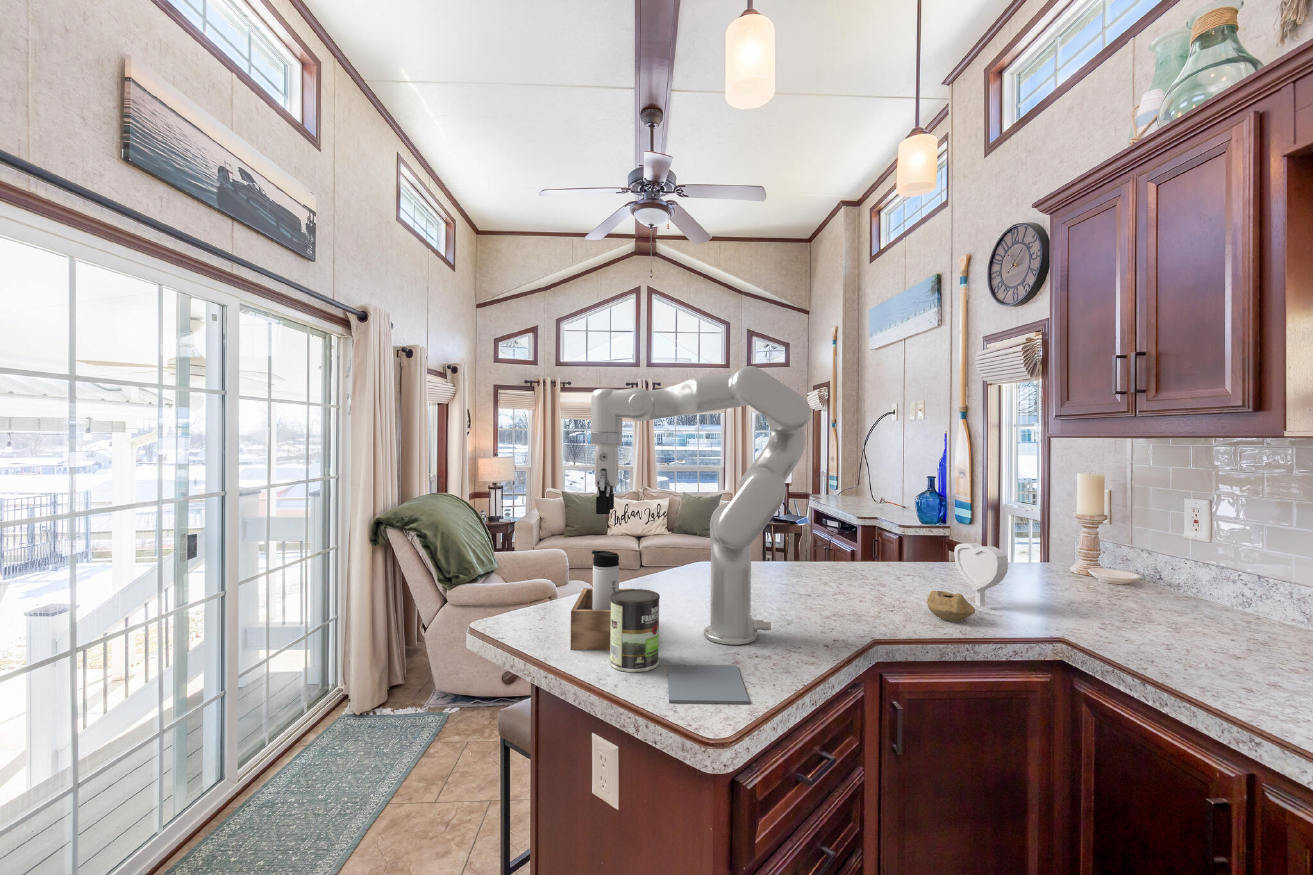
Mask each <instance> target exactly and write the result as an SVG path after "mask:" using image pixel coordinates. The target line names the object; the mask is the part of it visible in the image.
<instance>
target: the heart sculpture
mask: <svg viewBox="0 0 1313 875" xmlns="http://www.w3.org/2000/svg"><path fill="white" fill-rule="evenodd" d="M953 555H954V564H955V566H956V568H957V571H958V573H959V574H960V576H962V578H963V579H964V581H965V582H967V584H968V585H969V586H970V587H971V588H972V589H973V591H974V592H975V594H974V595H975V597H974V600H975V601H974V603H975V605H977V606H983V607H985V608H986V607H987V606H986V590H988V589H990V588H993V587H995V586H997V585H998V584H999V583H1002V581H1003V580H1004V579H1005V576H1007V574H1008V567H1009V560H1008V559H1009V558H1008V555H1007V553H1005V551H1003V550H1001V549H999V548H998V547H996V546H993V545H987V546H986V545H985V546H984V545H982V544H981V543H978V542H975V543H974V542H969V543H968V542H967V543H958V544H957V545H956V546H954V552H953Z"/></svg>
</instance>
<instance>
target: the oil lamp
mask: <svg viewBox="0 0 1313 875" xmlns="http://www.w3.org/2000/svg"><path fill="white" fill-rule="evenodd" d="M926 601H927V608H928V609H929V611H930V612H931V613H932V614H933V615H934V616H935V617H936V618H938V617H939V618H941V619H946V620H945V621H947V620H951V621H950V622H952V621H960V622H962V621H961V620H964V621H965V620H966V619H967V618H969V617H970V616H972V615H974V614H975V612H976V610H975V608H974V607H973V606H972V605H971V604H970V603H971V602H969V603H968V601H967V599H966V598H965V597H964V595H963V594H961V593H951V592H948V591H943V590H937V591H936V590H931V591H930V592H929V595H928V597H927V600H926ZM939 618H938V619H939ZM941 619H940V620H941Z"/></svg>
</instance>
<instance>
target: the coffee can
mask: <svg viewBox="0 0 1313 875" xmlns="http://www.w3.org/2000/svg"><path fill="white" fill-rule="evenodd" d="M625 589H626V590H620V591H616V592H613V593H612V594H611V595H610V599H611V637H610V650H609V655H610V656H609V658H610V659H609V665H610V666H611V667H612V669H615V670H617V671H621V672H626V673H642V672H644V673H645V672H648V671H651V670H654V669H655V668H657V667H658V666H659V663H660V662H659V658H660V657H659V656H660V655H659V653H660V652H659V650H660V649H659V645H660V644H659V643H660V640H659V639H660V638H659V637H660V636H659V635H660V631H659V630H660V629H659V628H660V597H661V596H660V593H658V592H656V591H653V590H650V589H645V588H644V589H641V588H625Z"/></svg>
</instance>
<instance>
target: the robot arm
mask: <svg viewBox="0 0 1313 875" xmlns="http://www.w3.org/2000/svg"><path fill="white" fill-rule="evenodd" d="M747 406H750V408H752V409H753V410H755V411H756V412H758V413H759V414H761V415H763V416H765V418H766V421H767V425H768V427H769V429H770V431H769V432H770V435H769V436H770V437H769V439H768V442H767V444H765V447H764V448H763V449H762V451H761V453H760V454H759V455H758V457H757V458H756V459H755V461H754V462H753V463H752V464H751V466H750V467H749V468H748V469H747V471H746V472H745V473H744V474H743V475H742V476H741V478H740V480H739V483H738V491H737V492H736V493H735V494H734V496H733V497H732V499H731V500H730V501H729V502H724V503H722V504H720V505H719V506H717V507H716V508H715V509H714V510H713V513H712V514H711V517H710V520H709V533H710V534H709V536H710V540H709V541H710V620H709V621H710V624H709V625H708V626H706V627H705V628H704V630H703V636H704V637H705V638H706V639H707V640H709V641H711V642H713V643H717V644H723V645H733V646H734V645H737V646H738V645H746V644H749V643H753V642H755V641H756V640H757V638H758V631H771V630H772V623H771V621H764V619H755V618H753V617H752V615H751V613H752V612H751V608H752V605H751V604H752V600H751V599H752V597H751V596H752V592H751V590H752V589H751V588H752V587H751V586H752V585H751V584H752V582H751V580H752V579H751V578H752V550H751V549H752V548H751V544H752V543H753V542H754V541H755V540H756V539H758V538H757V537H759V535H760V534H761V533H762V531H763V530H764V529H765V527H766V526H767V525H768V524H769V522H770V521H771V520H772V518H774V516H775V514H776V513H777V511H779V509H780V507H781V506H782V504H783V502H784V500H785V497H786V493H787V488H786V481H787V480H788V479H789V476H790V475H791V473H792V472H793V471H794V470H795V468H796V467H797V465H798V464H799V462H800V460H801V458H802V456H803V454H804V450H805V445H806V432H805V427H806V426H807V425H808V423H809V422H810V419H811V414H812V411H811V406H810V404H809V402H808V400H806V398H805V397H803V395H801V394H800V393H798V392H797V391H796V390H794V389H792V388H791V387H789V386H788V385H786V384H784V383H783V382H782V381H780V380H778V379H777V378H776V377H773V376H772V375H771V374H769V373H768V372H766V371H765V370H764V369H761V368H759V367H757V366H753V365H752V366H751V365H749V366H744V367H742V368H740V369H738V370H737V371H731V372H727V373H726V372H725V373H719V374H713V375H707V376H698V377H694V378H693V377H692V378H690V379H688V380H687V379H686V380H685V381H684V382H681V383H679V384H676V385H673V386H669V387H665V388H664V387H663V388H659V389H652V390H648V389H645V388H642V387H631V388H624V389H616V388H597V389H595V390H593V391H592V393H591V407H590V408H591V411H590V412H591V413H590V415H591V416H590V420H591V421H590V423H591V424H590V447H594V452H595V454H594V485H595V487H596V488H597V490H596V497H595V514H596V515H610V513H611V511H613V510H614V509H615V493H614V489H615V488H617V487H618V486H619V448H618V447H623V418H627V419H631V420H634V421H636V422H645V421H652V420H659V419H664V418H665V419H666V418H671V417H677V416H686V415H687V416H688V415H697V414H700V413H701V414H702V413H707V412H713V411H720V410H726V409H727V410H728V409H734V408H740V407H747Z"/></svg>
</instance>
